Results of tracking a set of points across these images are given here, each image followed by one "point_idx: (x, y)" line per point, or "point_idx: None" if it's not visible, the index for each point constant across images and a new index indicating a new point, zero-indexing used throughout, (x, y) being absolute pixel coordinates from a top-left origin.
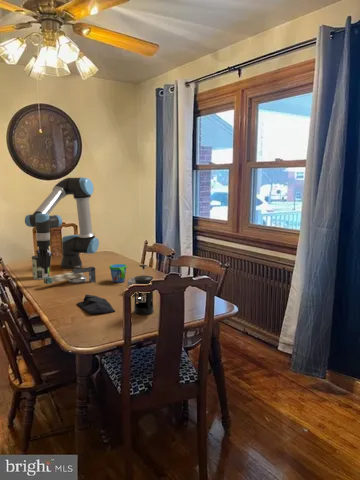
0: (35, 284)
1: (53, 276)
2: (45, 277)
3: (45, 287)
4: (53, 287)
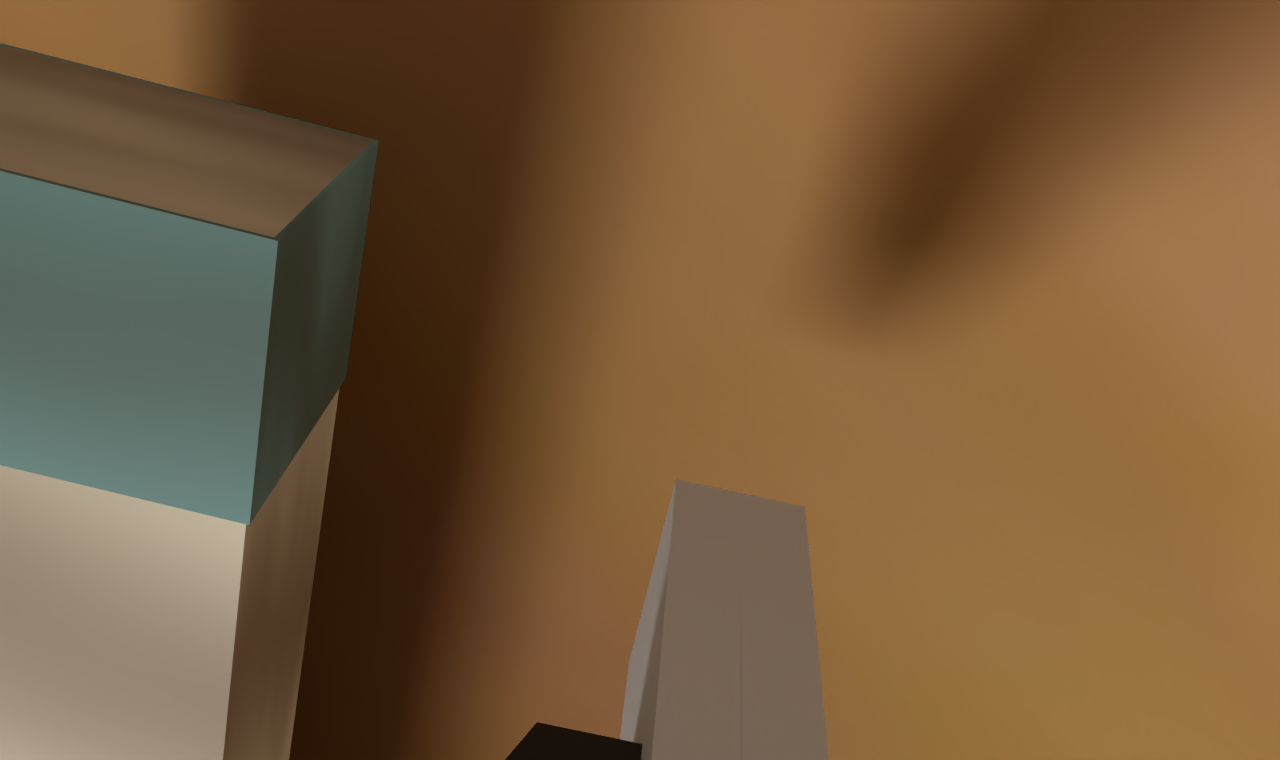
0: (1185, 330)
1: (93, 684)
2: (245, 355)
3: (443, 160)
4: None
